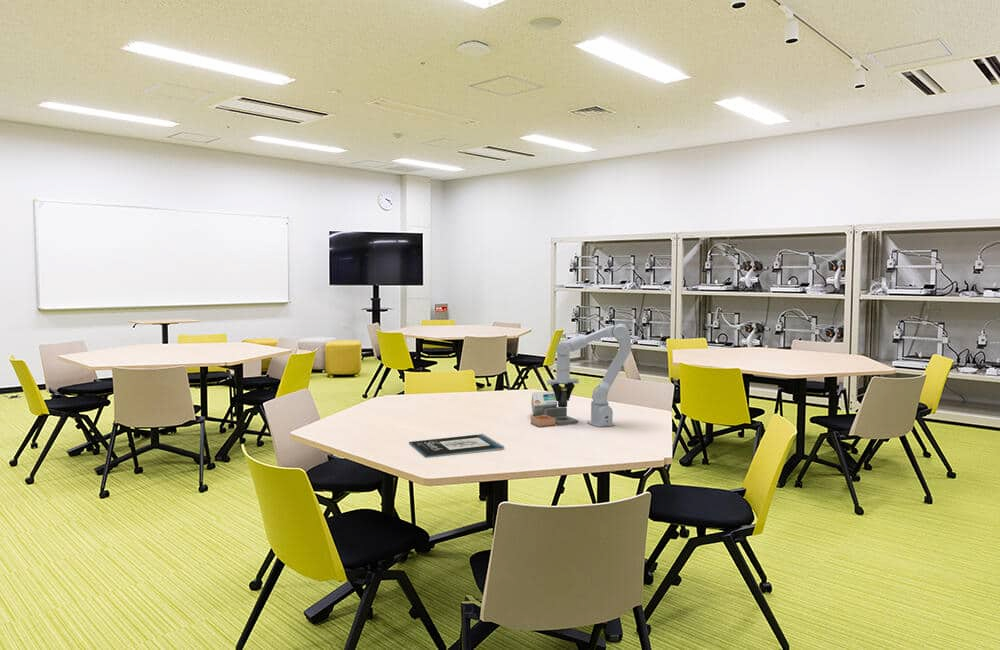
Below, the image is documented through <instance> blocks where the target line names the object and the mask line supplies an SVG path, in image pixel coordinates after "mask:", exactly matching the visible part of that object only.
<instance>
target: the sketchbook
mask: <svg viewBox="0 0 1000 650" xmlns="http://www.w3.org/2000/svg"><path fill="white" fill-rule="evenodd" d="M408 444H409V445H410V446H411V447H412V448H414V449H415V451H417V452H418V453H419V454H421V455H422V456H423V457H424V458H426V459H427V458H428V459H429V458H438V457H446V456H457V455H465V454H467V455H468V454H478V453H485V452H496V451H503V450H505V446H504V445H503V444H502V443H500V442H498V441H496V440H494V439H493V438H491V437H489V436H488V435H487V434H485V433H479V434H471V435H470V434H469V435H462V436H460V435H459V436H452V437H441V438H434V439H433V438H431V439H422V440H414V441H408Z"/></svg>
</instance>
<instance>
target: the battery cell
mask: <svg viewBox="0 0 1000 650" xmlns="http://www.w3.org/2000/svg"><path fill="white" fill-rule="evenodd" d="M567 390H568V388H566V387H565V386H561V392H560V401H559V402H558V401H557V407H566V408H567V407H568V401H567Z"/></svg>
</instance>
